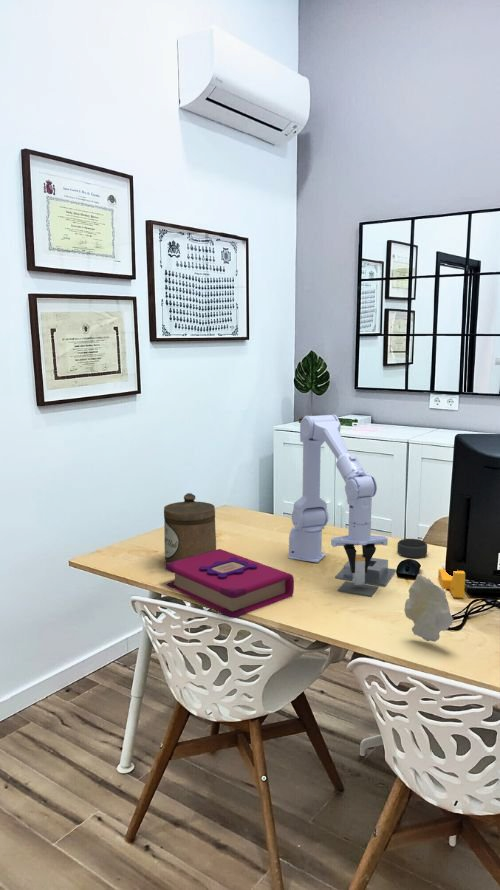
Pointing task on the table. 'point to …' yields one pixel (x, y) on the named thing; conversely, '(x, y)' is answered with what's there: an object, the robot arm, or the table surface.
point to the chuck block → (370, 572)
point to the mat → (358, 589)
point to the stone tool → (427, 609)
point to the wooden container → (188, 529)
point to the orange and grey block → (359, 570)
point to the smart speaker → (412, 548)
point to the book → (230, 582)
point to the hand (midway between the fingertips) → (358, 571)
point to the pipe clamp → (453, 582)
